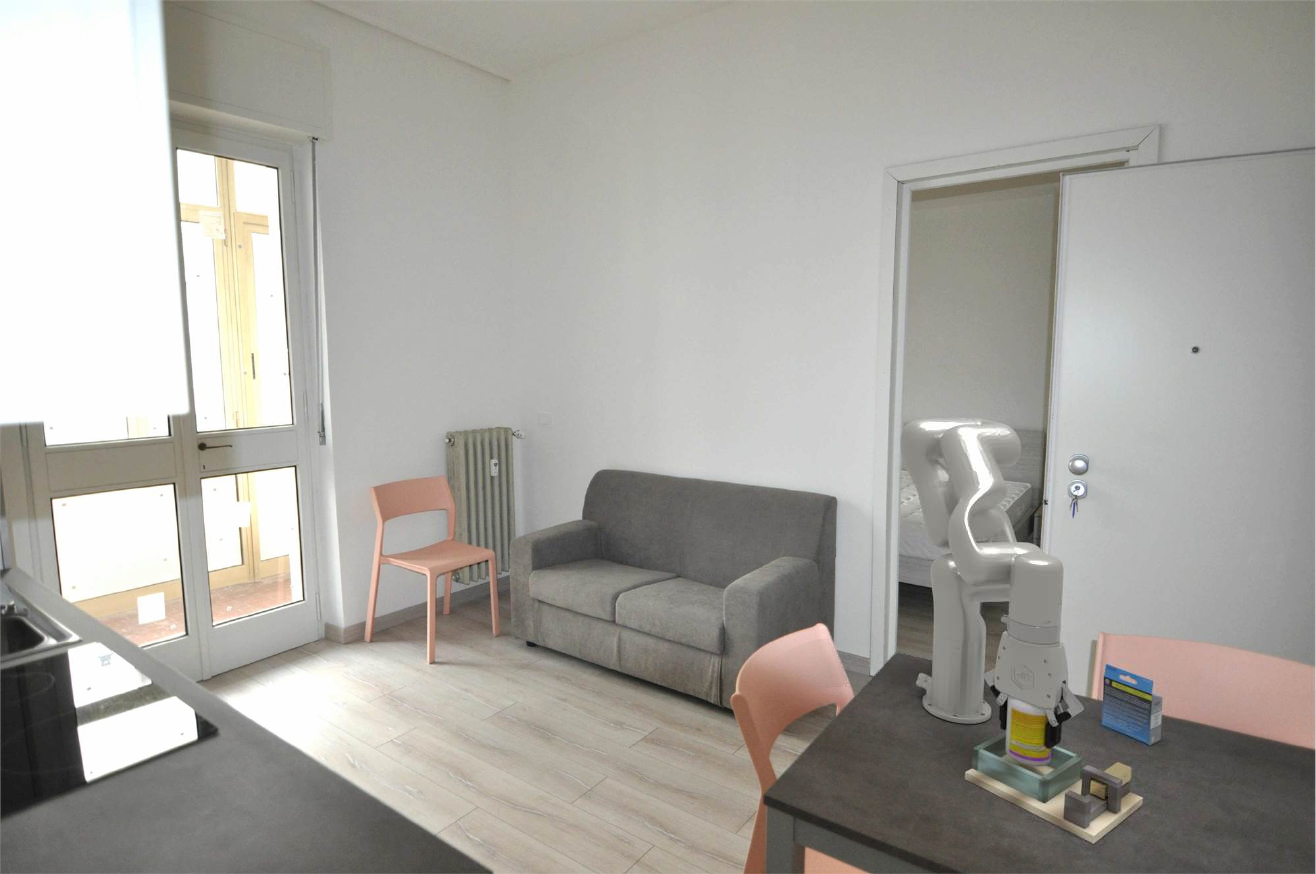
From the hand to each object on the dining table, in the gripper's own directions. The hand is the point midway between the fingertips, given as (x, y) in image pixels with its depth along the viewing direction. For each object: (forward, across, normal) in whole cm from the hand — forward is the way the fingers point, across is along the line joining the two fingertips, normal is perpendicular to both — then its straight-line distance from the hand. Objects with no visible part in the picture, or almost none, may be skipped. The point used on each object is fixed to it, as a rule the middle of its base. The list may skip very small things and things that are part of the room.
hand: (1028, 735), depth 119 cm
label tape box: (+8, +3, +31) cm, 32 cm away
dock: (+8, +4, 0) cm, 9 cm away
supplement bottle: (+4, 0, 0) cm, 4 cm away
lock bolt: (+5, +11, +4) cm, 13 cm away
